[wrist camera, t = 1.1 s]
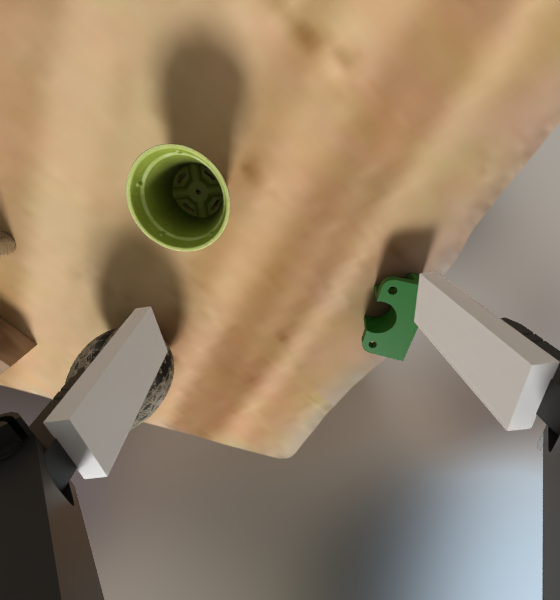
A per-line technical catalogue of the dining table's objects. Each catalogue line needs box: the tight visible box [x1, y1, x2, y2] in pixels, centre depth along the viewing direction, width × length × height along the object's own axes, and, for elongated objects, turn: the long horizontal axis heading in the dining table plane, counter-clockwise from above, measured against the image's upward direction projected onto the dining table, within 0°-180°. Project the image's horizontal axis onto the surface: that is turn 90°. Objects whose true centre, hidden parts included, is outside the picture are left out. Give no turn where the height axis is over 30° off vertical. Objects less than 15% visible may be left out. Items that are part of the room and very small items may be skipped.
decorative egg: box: [65, 328, 174, 429], centre depth 37 cm, size 12×12×15 cm
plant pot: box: [126, 144, 230, 251], centre depth 30 cm, size 9×9×9 cm
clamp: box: [362, 273, 420, 361], centre depth 40 cm, size 12×6×9 cm, turn 164°
